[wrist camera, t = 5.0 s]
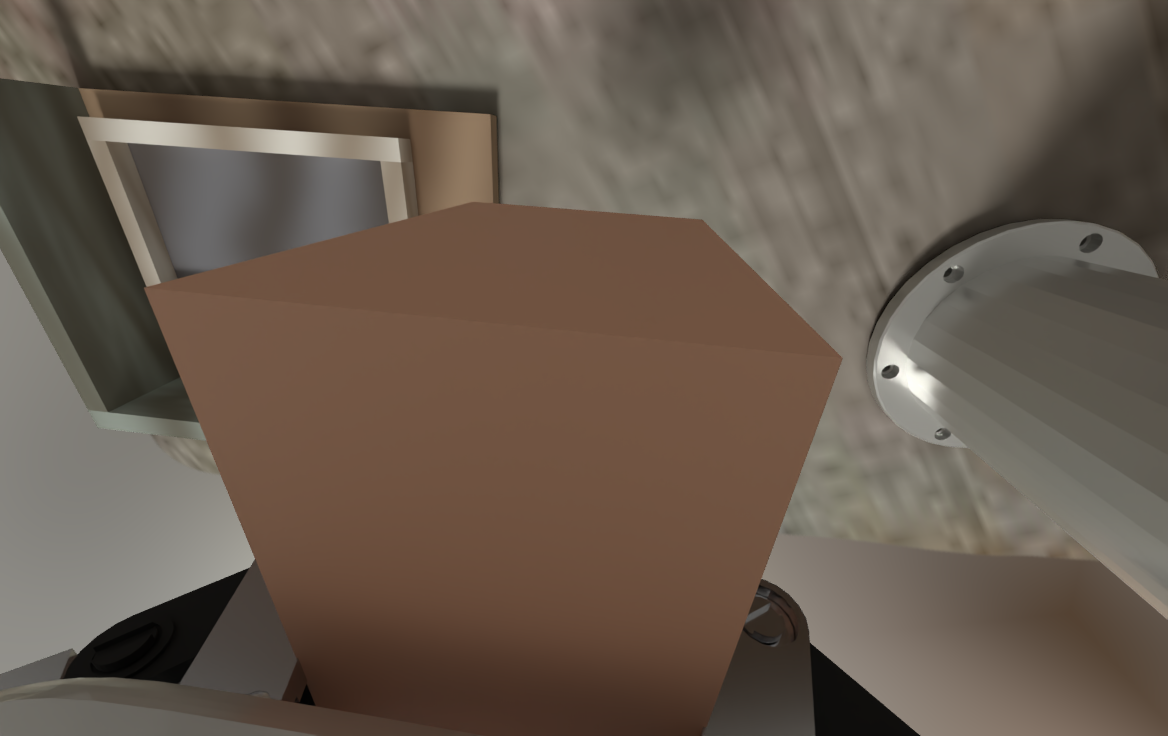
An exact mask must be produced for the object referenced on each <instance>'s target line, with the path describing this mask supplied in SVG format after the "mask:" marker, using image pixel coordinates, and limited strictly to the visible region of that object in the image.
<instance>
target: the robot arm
mask: <svg viewBox="0 0 1168 736" xmlns="http://www.w3.org/2000/svg"><path fill="white" fill-rule="evenodd" d="M866 368H867V381H868V384H869V387H870V390H871V393H872V395H873V398H874V399H875V401H876V402H877V404H878V405H879V407H880V408H881V410H882V411H883V412H884V413H885V414H886V415H887V416H888V417H889V418H890V419H891V420H892V421H893V422H894V423H895V424H896V425H897V426H899V427H900V428H901V429H903V430H904V431H906V432H907V433H909V434H910V435H912V436H914V437H917V438H919V439H922V440H924V441H926V442H929V443H933V444H938V445H943V446H947V447H961V448H969V449H971V450H972V451H973V452H974V453H975V454H976V455H978V456H979V457H980V458H981V459H982V460H983V461H984V462H986V463H987V464H988V465H989V466H990V467H991V468H993V469H994V470H995V471H996V472H997V473H998V474H1000V475H1001V476H1002V477H1003V478H1004V479H1005V480H1006V481H1008V482H1009V483H1010V484H1011V485H1012V486H1013V487H1015V488H1016V489H1017V490H1018V491H1019V492H1020V493H1022V494H1023V495H1024V496H1025V497H1026V498H1027V499H1029V500H1030V501H1031V502H1032V503H1033V504H1034V505H1035V506H1037V507H1038V508H1039V509H1040V510H1041V511H1042V512H1044V513H1045V514H1046V515H1047V516H1048V517H1049V518H1051V519H1052V520H1053V521H1054V522H1055V523H1056V524H1057V525H1059V526H1060V527H1061V528H1062V529H1063V530H1064V531H1066V532H1067V533H1068V534H1069V535H1070V536H1071V537H1073V538H1074V539H1075V540H1076V541H1077V542H1078V543H1079V544H1081V545H1082V546H1083V547H1084V548H1085V549H1086V550H1088V551H1089V552H1090V553H1091V554H1092V555H1093V556H1095V557H1096V558H1097V559H1098V560H1099V561H1100V562H1101V563H1103V564H1104V565H1105V566H1106V567H1107V568H1108V569H1110V570H1111V571H1112V572H1113V573H1114V574H1115V575H1117V576H1118V577H1119V578H1120V579H1121V580H1122V581H1123V582H1125V583H1126V584H1127V585H1128V586H1129V587H1130V588H1132V589H1133V590H1134V591H1135V592H1136V593H1137V594H1139V595H1140V596H1141V597H1142V598H1143V599H1144V600H1146V601H1147V602H1148V603H1149V604H1150V605H1151V606H1152V607H1154V608H1155V609H1156V610H1157V611H1158V612H1159V613H1161V614H1162V615H1163V616H1164V617H1165V618H1166V619H1168V280H1164V279H1160V278H1159V276H1158V273H1157V271H1156V268H1155V265H1154V262H1153V261H1152V259H1151V258H1150V257H1149V256H1148V254H1147V253H1146V252H1145V251H1144V249H1143V248H1142V247H1141V246H1140V245H1139V244H1138V243H1136V242H1135V241H1133V240H1132V239H1130V238H1129V237H1127V236H1126V235H1124V234H1123V233H1121V232H1119V231H1116V230H1113V229H1111V228H1108V227H1105V226H1102V225H1099V224H1095V223H1088V222H1082V221H1075V220H1068V219H1035V220H1029V221H1023V222H1016V223H1010V224H1007V225H1004V226H1000V227H997V228H994V229H991V230H988V231H985V232H982V233H979V234H977V235H975V236H973V237H971V238H969V239H967V240H965V241H963V242H961V243H959V244H956V245H954V246H952V247H951V248H949V249H948V250H946V251H945V252H943V253H942V254H940V255H939V256H937V257H936V258H934V259H933V260H931V261H930V262H928V263H927V264H926V265H925V266H924V267H922V268H921V269H920V270H919V271H918V272H917V273H916V274H915V275H913V276H912V277H911V278H910V279H909V280H908V281H907V282H906V283H905V284H904V285H903V286H902V288H901V289H900V290H899V291H898V292H897V294H896V295H895V296H894V297H893V298H892V299H891V301H890V302H889V303H888V305H887V307H886V308H885V310H884V312H883V313H882V315H881V317H880V318H879V320H878V322H877V324H876V326H875V329H874V332H873V334H872V337H871V340H870V342H869V347H868V354H867V360H866ZM0 736H483V735H477V734H472V733H466V732H460V731H455V730H449V729H443V728H438V727H432V726H426V725H421V724H415V723H409V722H403V721H398V720H392V719H386V718H381V717H375V716H369V715H363V714H357V713H352V712H346V711H340V710H334V709H328V708H322V707H316V705H315V703H314V700H313V698H312V695H311V693H310V691H309V688H308V686H307V678H306V676H305V674H304V671H303V669H302V666H301V664H300V661H299V659H298V658H296V657H295V654H294V652H293V649H292V647H291V644H290V642H289V640H288V637H287V635H286V632H285V630H284V627H283V625H282V623H281V620H280V618H279V615H278V613H277V610H276V608H275V606H274V603H273V601H272V598H271V596H270V593H269V591H268V589H267V586H266V584H265V581H264V579H263V576H262V574H261V572H260V569H259V567H258V564H257V562H256V559H255V560H254V562H253V563H252V565H251V567H250V568H248V569H245V570H243V571H241V572H238V573H236V574H234V575H231V576H229V577H226V578H224V579H221V580H219V581H216V582H214V583H211V584H209V585H206V586H204V587H201V588H199V589H197V590H194V591H192V592H189V593H187V594H184V595H182V596H179V597H177V598H175V599H172V600H170V601H167V602H165V603H163V604H160V605H158V606H155V607H153V608H150V609H148V610H145V611H143V612H141V613H138V614H136V615H133V616H131V617H129V618H127V619H125V620H123V621H121V622H119V623H117V624H115V625H114V626H112V627H111V628H109V629H108V630H106V631H105V632H103V633H102V634H100V635H99V636H97V637H96V638H95V639H94V640H93V641H91V642H90V643H89V644H88V645H87V646H86V647H85V648H84V649H82V650H81V651H80V653H79V654H76V653H75V651H74V650H73V649H69V650H67V651H64V652H61V653H58V654H55V655H53V656H50V657H47V658H44V659H41V660H39V661H36V662H33V663H30V664H27V665H25V666H22V667H19V668H16V669H14V670H11V671H8V672H5V673H2V674H0ZM700 736H920V735H919V734H918V733H916V732H915V731H914V730H913V729H912V728H910V727H909V726H908V725H907V724H906V723H905V722H903V721H902V720H901V719H900V718H899V717H897V716H896V715H895V714H894V713H893V712H891V711H890V710H889V709H888V708H887V707H885V706H884V705H883V704H882V703H881V702H880V701H878V700H877V699H876V698H875V697H874V696H872V695H871V694H870V693H869V692H868V691H867V690H865V689H864V688H863V687H862V686H861V685H859V684H858V683H857V682H856V681H855V680H853V679H852V678H851V677H850V676H849V675H847V674H846V673H845V672H844V671H843V670H842V669H840V668H839V667H838V666H837V665H836V664H834V663H833V662H832V661H831V660H830V659H829V658H827V657H826V656H825V655H824V654H823V653H821V652H820V651H819V650H818V649H816V647H814V646H813V645H812V644H811V643H810V640H809V629H808V624H807V620H806V617H805V616H804V614H803V612H802V610H801V608H800V607H799V605H798V604H797V603H796V602H795V601H794V600H793V598H792V597H791V596H790V595H789V594H788V593H786V592H785V591H783V590H782V589H781V588H779V587H778V586H777V585H774V584H772V583H770V582H768V581H766V580H763V579H761V581H760V584H759V586H758V589H757V592H756V594H755V597H754V600H753V603H752V605H751V608H750V611H749V613H748V616H747V619H746V621H745V624H744V627H743V630H742V632H741V635H740V638H739V640H738V643H737V646H736V649H735V651H734V654H733V657H732V659H731V662H730V665H729V668H728V670H727V673H726V676H725V678H724V681H723V684H722V686H721V689H720V692H719V695H718V697H717V700H716V703H715V705H714V708H713V711H712V714H711V716H710V719H709V722H708V724H707V727H703V728H702V731H701V734H700Z"/></svg>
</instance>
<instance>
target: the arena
mask: <svg viewBox="0 0 1168 736" xmlns="http://www.w3.org/2000/svg"><path fill="white" fill-rule="evenodd" d="M470 202H484V203H496V204H499V190H498V153H497V116H494V115H491V114H478V113H462V112H446V111H431V110H415V109H399V108H383V107H368V106H352V105H336V104H320V103H305V102H289V101H273V100H257V99H242V98H226V97H210V96H194V95H179V94H163V93H147V92H131V91H116V90H100V89H84V88H73V87H65V86H57V85H49V84H41V83H33V82H25V81H17V80H9V79H1V78H0V249H1V251H2V253H3V254H4V256H5V258H6V260H7V262H8V264H9V265H10V267H11V269H12V271H13V273H14V275H15V276H16V278H17V280H18V282H19V284H20V286H21V288H22V289H23V291H24V293H25V295H26V297H27V299H28V300H29V302H30V304H31V306H32V308H33V310H34V311H35V313H36V315H37V317H38V319H39V321H40V322H41V324H42V326H43V328H44V330H45V332H46V333H47V335H48V337H49V339H50V341H51V343H52V345H53V346H54V348H55V350H56V352H57V354H58V356H59V357H60V359H61V361H62V363H63V365H64V367H65V368H66V370H67V372H68V374H69V376H70V378H71V379H72V381H73V383H74V385H75V387H76V389H77V391H78V392H79V394H80V396H81V398H82V400H83V401H84V403H85V405H86V407H87V409H88V411H89V413H90V414H91V416H92V418H93V420H94V422H95V423H96V425H97V427H98V428H103V429H112V430H121V431H129V432H137V433H146V434H154V435H163V436H171V437H180V438H188V439H197V440H205V441H207V440H206V438H205V436H204V433H203V431H202V428H201V426H200V423H199V421H198V419H197V416H196V414H195V411H194V409H193V406H192V404H191V402H190V399H189V397H188V394H187V392H186V389H185V387H184V385H183V382H182V380H181V377H180V375H179V372H178V370H177V368H176V365H175V363H174V360H173V358H172V355H171V353H170V350H169V348H168V346H167V343H166V341H165V338H164V336H163V333H162V331H161V329H160V326H159V324H158V321H157V319H156V316H155V314H154V312H153V309H152V307H151V304H150V302H149V299H148V297H147V295H146V292H145V290H144V287H148V286H152V285H156V284H160V283H163V282H167V281H171V280H175V279H179V278H183V277H186V276H190V275H194V274H198V273H202V272H206V271H209V270H213V269H217V268H221V267H225V266H229V265H232V264H236V263H240V262H244V261H248V260H251V259H255V258H259V257H263V256H267V255H271V254H274V253H278V252H282V251H286V250H290V249H294V248H297V247H301V246H305V245H309V244H313V243H317V242H320V241H324V240H328V239H332V238H336V237H339V236H343V235H347V234H351V233H355V232H359V231H362V230H366V229H370V228H374V227H378V226H382V225H385V224H389V223H393V222H397V221H401V220H405V219H408V218H412V217H416V216H420V215H424V214H427V213H431V212H435V211H439V210H443V209H447V208H450V207H454V206H458V205H462V204H466V203H470Z"/></svg>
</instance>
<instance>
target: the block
mask: <svg viewBox="0 0 1168 736" xmlns="http://www.w3.org/2000/svg"><path fill="white" fill-rule="evenodd" d="M144 290H145V292H146V295H147V297H148V299H149V302H150V304H151V307H152V309H153V312H154V314H155V316H156V319H157V321H158V324H159V326H160V329H161V331H162V333H163V336H164V338H165V341H166V343H167V346H168V348H169V350H170V353H171V355H172V358H173V360H174V363H175V365H176V368H177V370H178V372H179V375H180V377H181V380H182V382H183V385H184V387H185V389H186V392H187V394H188V397H189V399H190V402H191V404H192V406H193V409H194V411H195V414H196V416H197V419H198V421H199V423H200V426H201V428H202V431H203V433H204V436H205V438H206V440H207V443H208V445H209V448H210V450H211V453H212V455H213V457H214V460H215V462H216V465H217V467H218V470H219V472H220V474H221V477H222V479H223V482H224V484H225V486H226V489H227V491H228V494H229V496H230V499H231V501H232V504H233V506H234V508H235V511H236V513H237V516H238V518H239V521H240V523H241V525H242V528H243V530H244V533H245V535H246V538H247V540H248V542H249V545H250V547H251V550H252V552H253V554H254V557H255V559H256V562H257V564H258V567H259V569H260V572H261V574H262V576H263V579H264V581H265V584H266V586H267V589H268V591H269V593H270V596H271V598H272V601H273V603H274V606H275V608H276V610H277V613H278V615H279V618H280V620H281V623H282V625H283V627H284V630H285V632H286V635H287V637H288V640H289V642H290V644H291V647H292V649H293V652H294V654H295V657H296V658H298V659H299V661H300V664H301V666H302V669H303V671H304V674H305V676H306V678H307V686H308V688H309V691H310V693H311V695H312V698H313V700H314V703H315V705H316V707H322V708H328V709H334V710H340V711H346V712H352V713H357V714H363V715H369V716H375V717H381V718H386V719H392V720H398V721H403V722H409V723H415V724H421V725H426V726H432V727H438V728H443V729H449V730H455V731H460V732H466V733H472V734H477V735H483V736H700V734H701V731H702V728H703V727H707V724H708V722H709V719H710V716H711V714H712V711H713V708H714V705H715V703H716V700H717V697H718V695H719V692H720V689H721V686H722V684H723V681H724V678H725V676H726V673H727V670H728V668H729V665H730V662H731V659H732V657H733V654H734V651H735V649H736V646H737V643H738V640H739V638H740V635H741V632H742V630H743V627H744V624H745V621H746V619H747V616H748V613H749V611H750V608H751V605H752V603H753V600H754V597H755V594H756V592H757V589H758V586H759V584H760V581H761V578H762V575H763V572H764V570H765V567H766V564H767V562H768V559H769V556H770V553H771V551H772V548H773V546H774V543H775V540H776V537H777V535H778V532H779V529H780V527H781V524H782V521H783V519H784V516H785V513H786V510H787V508H788V505H789V502H790V500H791V497H792V494H793V491H794V489H795V486H796V483H797V481H798V478H799V475H800V473H801V470H802V467H803V464H804V462H805V459H806V456H807V454H808V451H809V448H810V445H811V443H812V440H813V437H814V435H815V432H816V429H817V426H818V424H819V421H820V418H821V416H822V413H823V410H824V408H825V405H826V402H827V399H828V397H829V394H830V391H831V389H832V386H833V383H834V380H835V378H836V375H837V372H838V370H839V367H840V364H841V361H842V359H843V358H842V357H841V356H840V355H839V354H838V353H837V352H836V351H835V350H834V349H833V348H832V347H831V346H830V345H829V344H828V343H827V342H826V341H825V340H824V339H823V338H822V337H821V336H820V335H819V334H818V333H817V332H816V331H814V330H813V329H812V328H811V327H810V326H809V325H808V324H807V323H806V322H805V321H804V320H803V319H802V318H801V317H800V316H799V315H798V314H797V313H796V312H795V311H794V310H793V309H792V308H791V307H790V306H789V305H788V304H787V303H786V302H785V301H784V300H783V299H782V298H781V297H780V296H779V295H778V294H777V293H776V292H775V291H774V290H773V289H772V288H771V287H770V286H769V285H768V284H767V283H766V282H765V281H764V280H763V279H762V278H761V277H760V276H759V275H758V274H757V273H756V272H755V271H754V270H753V269H752V268H751V267H750V266H749V265H748V264H747V263H746V262H745V261H744V260H743V259H742V258H741V257H739V256H738V255H737V254H736V253H735V252H734V251H733V250H732V249H731V248H730V247H729V246H728V245H727V244H726V243H725V242H724V241H723V240H722V239H721V238H720V237H719V236H718V235H717V234H716V233H715V232H714V231H713V230H712V229H711V228H710V227H709V226H708V225H707V224H706V223H705V222H704V221H703V220H699V219H687V218H674V217H661V216H649V215H636V214H623V213H610V212H598V211H585V210H572V209H560V208H547V207H534V206H522V205H509V204H496V203H484V202H470V203H466V204H462V205H458V206H454V207H450V208H447V209H443V210H439V211H435V212H431V213H427V214H424V215H420V216H416V217H412V218H408V219H405V220H401V221H397V222H393V223H389V224H385V225H382V226H378V227H374V228H370V229H366V230H362V231H359V232H355V233H351V234H347V235H343V236H339V237H336V238H332V239H328V240H324V241H320V242H317V243H313V244H309V245H305V246H301V247H297V248H294V249H290V250H286V251H282V252H278V253H274V254H271V255H267V256H263V257H259V258H255V259H251V260H248V261H244V262H240V263H236V264H232V265H229V266H225V267H221V268H217V269H213V270H209V271H206V272H202V273H198V274H194V275H190V276H186V277H183V278H179V279H175V280H171V281H167V282H163V283H160V284H156V285H152V286H148V287H144Z"/></svg>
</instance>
